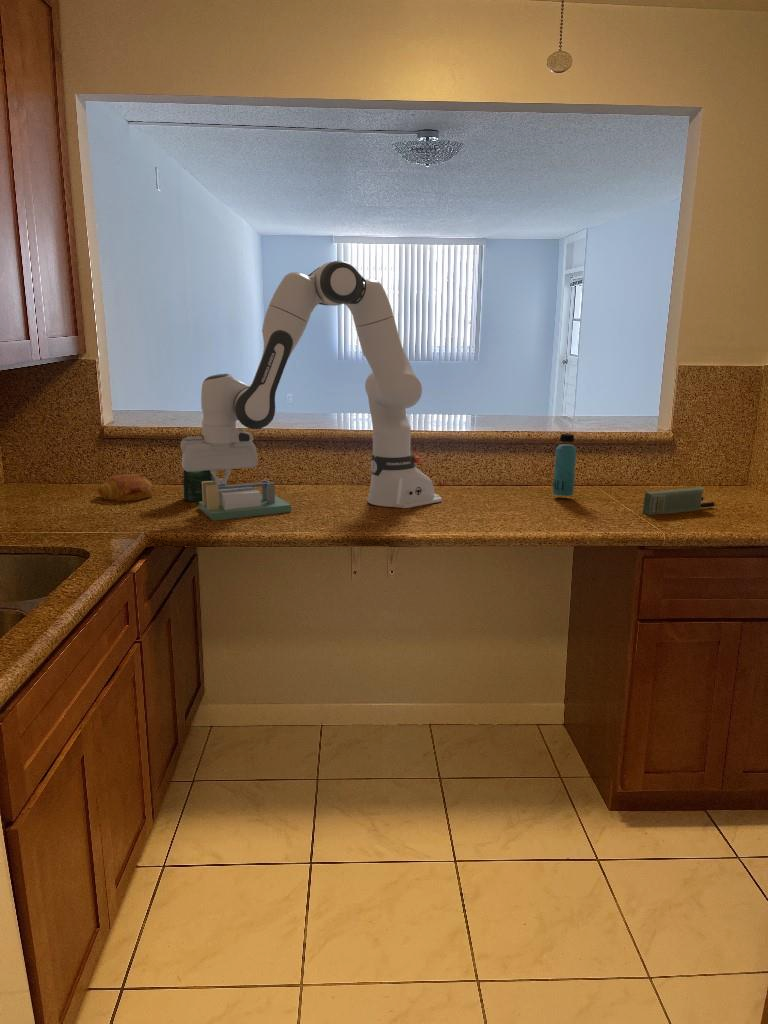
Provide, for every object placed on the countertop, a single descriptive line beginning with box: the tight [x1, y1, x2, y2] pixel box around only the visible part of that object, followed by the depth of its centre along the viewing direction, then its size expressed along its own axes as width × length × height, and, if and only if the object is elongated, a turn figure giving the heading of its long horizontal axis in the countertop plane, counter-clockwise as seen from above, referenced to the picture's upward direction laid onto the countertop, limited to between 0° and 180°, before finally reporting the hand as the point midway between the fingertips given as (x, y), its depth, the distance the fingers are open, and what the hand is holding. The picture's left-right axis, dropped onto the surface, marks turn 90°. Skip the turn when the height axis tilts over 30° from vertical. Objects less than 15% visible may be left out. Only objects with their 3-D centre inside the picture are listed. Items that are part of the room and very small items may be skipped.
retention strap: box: [209, 479, 272, 490], centre depth 193 cm, size 18×3×2 cm, turn 118°
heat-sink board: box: [198, 479, 292, 522], centre depth 194 cm, size 22×15×9 cm
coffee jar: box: [179, 438, 215, 502], centre depth 205 cm, size 10×8×19 cm
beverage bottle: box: [552, 433, 578, 497], centre depth 211 cm, size 6×7×20 cm
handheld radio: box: [642, 486, 716, 516], centre depth 199 cm, size 7×3×25 cm
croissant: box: [98, 473, 153, 503], centre depth 209 cm, size 14×16×8 cm
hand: (220, 485), depth 190 cm, fingers closed
